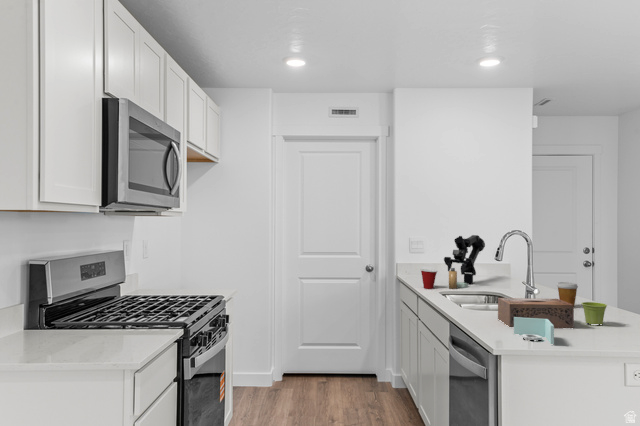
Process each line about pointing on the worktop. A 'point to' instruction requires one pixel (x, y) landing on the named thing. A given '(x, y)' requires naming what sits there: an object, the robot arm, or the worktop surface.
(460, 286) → the dish
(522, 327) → the right angle wall
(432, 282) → the plastic cup
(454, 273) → the bottle
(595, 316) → the plant pot
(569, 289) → the disposable coffee cup
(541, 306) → the tissue box cover
